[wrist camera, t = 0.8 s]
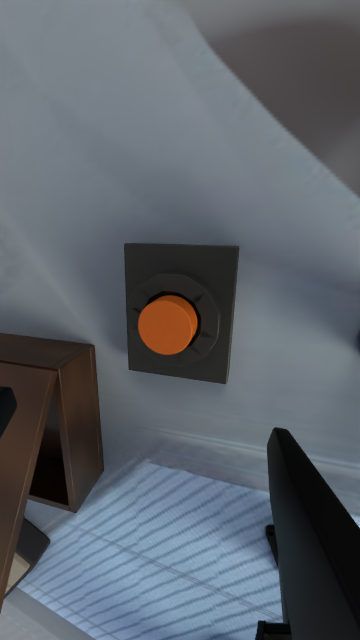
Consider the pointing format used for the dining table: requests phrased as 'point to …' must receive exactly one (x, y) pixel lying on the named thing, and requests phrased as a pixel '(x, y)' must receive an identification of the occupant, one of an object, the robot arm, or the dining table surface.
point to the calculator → (26, 554)
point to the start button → (167, 324)
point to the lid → (20, 453)
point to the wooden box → (63, 419)
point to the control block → (198, 290)
